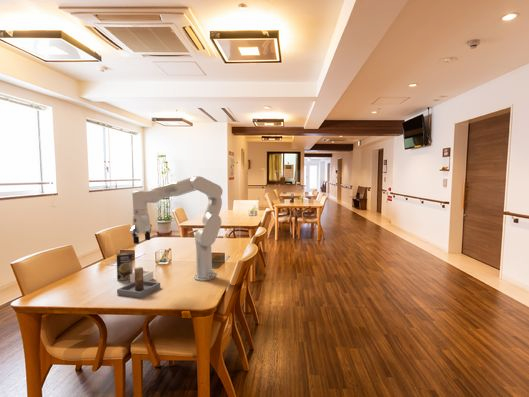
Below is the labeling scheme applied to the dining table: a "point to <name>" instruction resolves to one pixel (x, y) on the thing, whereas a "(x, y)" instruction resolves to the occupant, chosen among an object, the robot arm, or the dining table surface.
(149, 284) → the tray
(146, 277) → the white square block
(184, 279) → the dining table surface
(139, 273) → the dowel
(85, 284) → the dining table surface
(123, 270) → the coffee box
